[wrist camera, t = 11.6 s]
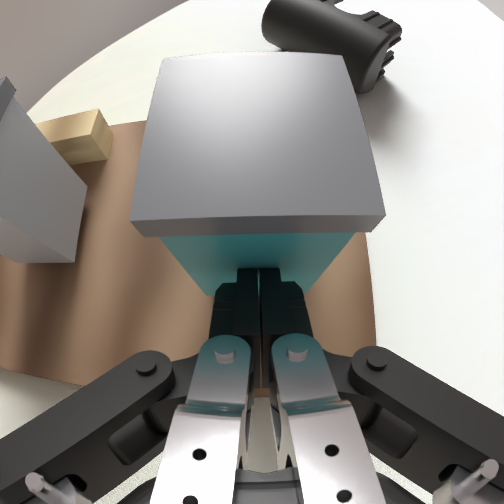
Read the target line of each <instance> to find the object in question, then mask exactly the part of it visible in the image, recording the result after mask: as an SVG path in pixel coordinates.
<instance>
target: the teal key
mask: <svg viewBox="0 0 504 504" xmlns="http://www.w3.org/2000/svg"><path fill="white" fill-rule="evenodd" d="M385 216H386V213H385V208H384V203H383V198H382V193H381V189H380V184H379V179H378V175H377V171H376V166H375V162H374V158H373V154H372V150H371V146H370V143H369V139H368V135H367V131H366V128H365V124H364V121H363V117H362V114H361V111H360V107H359V104H358V101H357V98H356V95H355V91H354V88H353V85H352V82H351V79H350V76H349V74H348V71H347V68H346V65H345V62H344V60H343V57H342V56H341V55H330V54H318V53H302V52H228V53H212V54H200V55H189V56H180V57H172V58H165V59H162V62H161V66H160V69H159V73H158V77H157V80H156V84H155V88H154V92H153V96H152V100H151V104H150V108H149V113H148V117H147V122H146V126H145V131H144V136H143V141H142V146H141V151H140V156H139V162H138V167H137V173H136V179H135V185H134V192H133V198H132V205H131V213H130V220H129V221H130V222H131V223H132V224H133V226H134V227H135V228H136V229H137V230H138V231H139V232H140V233H141V235H142V236H143V237H159V238H160V239H161V241H162V242H163V243H164V244H165V246H166V247H167V248H168V249H169V251H170V252H171V253H172V254H173V256H174V257H175V258H176V259H177V261H178V262H179V263H180V264H181V266H182V267H183V268H184V269H185V270H186V272H187V273H188V274H189V275H190V277H191V278H192V279H193V280H194V281H195V283H196V284H197V285H198V286H199V287H200V289H201V290H202V291H203V292H204V293H205V295H206V296H215V291H216V290H217V289H218V288H219V286H220V285H221V284H222V283H232V282H236V280H237V269H248V268H257V270H258V293H259V268H279V269H280V274H281V281H295V282H296V283H297V284H298V285H299V286H300V287H301V288H302V290H303V293H307V291H308V290H309V289H310V288H311V287H312V286H313V284H314V283H315V282H316V281H317V280H318V278H319V277H320V276H321V275H322V274H323V272H324V271H325V270H326V269H327V268H328V266H329V265H330V264H331V263H332V262H333V260H334V259H335V258H336V257H337V255H338V254H339V253H340V252H341V251H342V249H343V248H344V247H345V246H346V244H347V243H348V242H349V241H350V239H351V238H352V237H353V236H354V234H355V233H356V232H372V230H373V229H374V228H375V227H376V226H377V225H378V224H379V223H380V221H381V220H382V219H383V218H384V217H385Z"/></svg>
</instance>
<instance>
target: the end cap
mask: <svg viewBox="0 0 504 504" xmlns="http://www.w3.org/2000/svg"><path fill="white" fill-rule="evenodd" d="M342 1H343V0H271V1H270V2H269V4H268V5H267V7H266V9H265V12H264V14H263V18H262V25H261V26H262V33H263V36H264V38H265V39H266V40H267V41H268V42H269V43H272V44H274V45H276V46H277V47H279V48H281V49H283V50H285V51H287V52H302V53H318V54H330V55H341V56H342V57H343V60H344V62H345V65H346V68H347V71H348V74H349V76H350V79H351V82H352V85H353V88H354V89H355V90H356V91H358V92H360V93H367V92H369V91H370V90H372V89H373V87H374V84H375V83H376V82H377V81H379V80H380V79H381V78H382V77H383V75H384V73H385V70H384V69H383V68H384V67H385V66H386V65H387V64H389V63H390V62H391V60H393V59H394V56H393V54H394V52H393V51H391V50H390V51H388V52H387V50H388V49H389V48H391V47H392V46H393V45H395V44H396V43H398V42H399V41H400V40H401V37H400V36H401V33H402V28H401V26H400V25H399V24H397V23H396V22H394V21H393V20H392V19H388V18H387V17H385V16H383V15H381V14H380V13H379V12H375V11H373V10H372V11H370V12H368V13H366V14H363V15H356V14H350V13H347V12H344V11H342V10H340V9H338V8H336V7H335V6H334V4H337V3H339V2H342ZM386 52H387V53H386Z"/></svg>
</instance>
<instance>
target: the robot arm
mask: <svg viewBox="0 0 504 504" xmlns="http://www.w3.org/2000/svg"><path fill="white" fill-rule="evenodd" d="M260 341H261V366H262V388H269V393H270V405H269V408H270V416H271V422H272V429H273V435H274V442H275V448H276V455H277V470H278V471H275V472H271V473H259V472H254V471H249V470H248V453H249V442H250V431H251V420H252V406H253V403H254V388H260ZM162 451H164V452H163V455H162V459H161V463H160V467H159V470H158V474H157V477H155V478H153V479H150V480H148V481H146V482H145V483H143V484H141V485H140V486H138V487H137V488H136V489H134V490H133V491H132V492H131V493H129V494H128V495H127V496H126V497H124V498H123V499H122V500H121V501H119V502H118V503H117V504H425V503H424V502H423V501H421V500H420V499H418V498H417V497H415V496H414V495H412V494H411V493H410V492H408V491H407V490H405V489H404V488H403V487H401V486H400V485H399V484H397V483H396V482H394V481H393V480H392V479H390V478H388V477H386V476H385V475H383V474H381V473H378V472H376V471H375V468H374V465H373V463H372V460H371V457H370V454H369V452H370V453H371V454H372V455H374V456H375V457H377V458H378V459H379V460H381V461H382V462H384V463H385V464H387V465H388V466H390V467H391V468H392V469H394V470H395V471H397V472H398V473H400V474H401V475H403V476H404V477H406V478H407V479H409V480H410V481H412V482H414V483H415V484H417V485H418V486H420V487H421V488H423V489H424V490H426V491H428V492H429V493H431V494H432V495H433V500H432V501H433V504H504V417H503V416H502V415H500V414H498V413H496V412H495V411H493V410H491V409H489V408H488V407H486V406H484V405H482V404H481V403H479V402H477V401H475V400H474V399H472V398H470V397H468V396H467V395H465V394H463V393H462V392H460V391H458V390H456V389H455V388H453V387H451V386H449V385H448V384H446V383H444V382H443V381H441V380H439V379H437V378H436V377H434V376H432V375H431V374H429V373H427V372H425V371H424V370H422V369H420V368H419V367H417V366H415V365H413V364H412V363H410V362H408V361H407V360H405V359H403V358H402V357H400V356H398V355H396V354H395V353H393V352H391V351H390V350H388V349H386V348H383V347H379V346H367V347H363V348H361V349H359V350H357V351H356V352H355V353H354V355H353V357H349V356H342V355H337V354H333V353H330V352H328V351H326V350H324V349H323V348H322V347H321V345H320V343H319V342H318V341H317V340H316V339H314V336H313V332H312V327H311V323H310V319H309V315H308V311H307V308H306V303H305V298H304V294H303V290H302V288H301V287H300V286H299V285H298V284H297V283H296V282H295V281H281V274H280V269H279V268H259V293H258V270H257V268H248V269H237V280H236V282H232V283H222V284H221V285H220V286H219V288H218V289H217V290H216V291H215V298H214V304H213V311H212V317H211V324H210V330H209V337H208V340H207V341H206V342H205V343H204V344H203V345H202V346H201V348H200V351H199V353H197V354H196V355H194V356H191V357H189V358H185V359H181V360H176V361H170V359H169V357H168V356H166V355H165V354H164V353H162V352H159V351H154V350H147V351H141V352H138V353H136V354H134V355H132V356H131V357H129V358H128V359H126V360H124V361H123V362H121V363H120V364H118V365H117V366H115V367H114V368H112V369H111V370H109V371H108V372H106V373H105V374H103V375H101V376H100V377H98V378H97V379H95V380H94V381H92V382H91V383H89V384H87V385H86V386H84V387H83V388H81V389H80V390H78V391H77V392H75V393H73V394H72V395H70V396H69V397H67V398H66V399H64V400H62V401H61V402H59V403H58V404H56V405H55V406H53V407H51V408H50V409H48V410H47V411H45V412H44V413H42V414H40V415H39V416H37V417H36V418H34V419H32V420H31V421H29V422H28V423H26V424H24V425H23V426H21V427H20V428H18V429H16V430H15V431H13V432H11V433H10V434H8V435H7V436H5V437H3V438H2V439H0V504H93V503H94V502H96V501H97V500H98V499H100V498H101V497H103V496H104V495H106V494H107V493H108V492H110V491H111V490H113V489H114V488H115V487H117V486H118V485H120V484H121V483H122V482H124V481H125V480H126V479H128V478H129V477H130V476H132V475H133V474H134V473H136V472H137V471H138V470H140V469H141V468H142V467H143V466H145V465H146V464H147V463H149V462H150V461H151V460H152V459H154V458H155V457H156V456H157V455H159V454H160V453H161V452H162Z"/></svg>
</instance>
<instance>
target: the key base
mask: <svg viewBox="0 0 504 504" xmlns="http://www.w3.org/2000/svg"><path fill="white" fill-rule="evenodd" d="M146 122H147V120H146V121H138V122H131V123H124V124H118V125H112V126H108V124H107V122H106V121H105V119H104V117H103V115H102V114H101V112H100V110H99V109H96V110H91V111H86V112H82V113H77V114H73V115H69V116H65V117H60V118H57V119H53V120H49V121H45V122H42V123H38V124H35V125H36V126H37V128H38V129H39V130H40V131H41V133H42V134H43V135H44V136H45V137H46V139H47V140H48V141H49V142H50V144H51V145H52V146H53V147H54V148H55V150H56V151H57V152H58V153H59V154H60V155H61V157H62V158H63V159H64V160H65V161H66V162H67V164H68V165H69V166H70V167H71V168H72V169H73V171H74V172H75V173H76V174H77V175H78V176H79V177H80V179H81V180H82V181H83V182H84V183H85V184H86V185H87V186H88V187H87V192H86V197H85V201H84V206H83V212H82V217H81V223H80V229H79V235H78V241H77V248H76V255H75V262H73V263H16V262H14V261H12V260H10V259H8V258H6V257H4V256H2V255H0V368H4V369H8V370H12V371H16V372H20V373H24V374H28V375H32V376H37V377H41V378H46V379H51V380H56V381H61V382H66V383H72V384H77V385H83V386H86V385H87V384H89V383H91V382H92V381H94V380H95V379H97V378H98V377H100V376H101V375H103V374H105V373H106V372H108V371H109V370H111V369H112V368H114V367H115V366H117V365H118V364H120V363H121V362H123V361H124V360H126V359H128V358H129V357H131V356H132V355H134V354H136V353H138V352H141V351H147V350H154V351H159V352H162V353H164V354H165V355H166V356H168V357H169V359H170V361H176V360H181V359H185V358H189V357H191V356H194V355H196V354H197V353H199V351H200V348H201V346H202V345H203V344H204V343H205V342H206V341H207V340H208V337H209V330H210V324H211V317H212V311H213V304H214V298H215V296H206V295H205V293H204V292H203V291H202V290H201V289H200V287H199V286H198V285H197V284H196V283H195V281H194V280H193V279H192V278H191V277H190V275H189V274H188V273H187V272H186V270H185V269H184V268H183V267H182V266H181V264H180V263H179V262H178V261H177V259H176V258H175V257H174V256H173V254H172V253H171V252H170V251H169V249H168V248H167V247H166V246H165V244H164V243H163V242H162V241H161V239H160V238H159V237H143V236H142V235H141V233H140V232H139V231H138V230H137V229H136V228H135V227H134V226H133V224H132V223H131V222H130V221H129V220H130V213H131V205H132V198H133V192H134V185H135V179H136V173H137V167H138V162H139V156H140V151H141V146H142V141H143V136H144V131H145V126H146ZM303 294H304V298H305V303H306V308H307V311H308V315H309V319H310V323H311V327H312V332H313V336H314V339H316V340H317V341H318V342H319V343H320V345H321V347H322V348H323V349H324V350H326V351H328V352H330V353H333V354H337V355H342V356H349V357H353V355H354V353H355V352H356V351H357V350H359V349H361V348H363V347H367V346H376V331H375V317H374V304H373V293H372V283H371V274H370V265H369V257H368V250H367V242H366V235H365V232H356V233H355V234H354V236H353V237H352V238H351V239H350V241H349V242H348V243H347V244H346V246H345V247H344V248H343V249H342V251H341V252H340V253H339V254H338V255H337V257H336V258H335V259H334V260H333V262H332V263H331V264H330V265H329V266H328V268H327V269H326V270H325V271H324V272H323V274H322V275H321V276H320V277H319V278H318V280H317V281H316V282H315V283H314V284H313V286H312V287H311V288H310V289H309V290H308V291H307V293H303ZM254 397H270V393H269V388H262V366H261V341H260V388H254Z"/></svg>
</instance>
